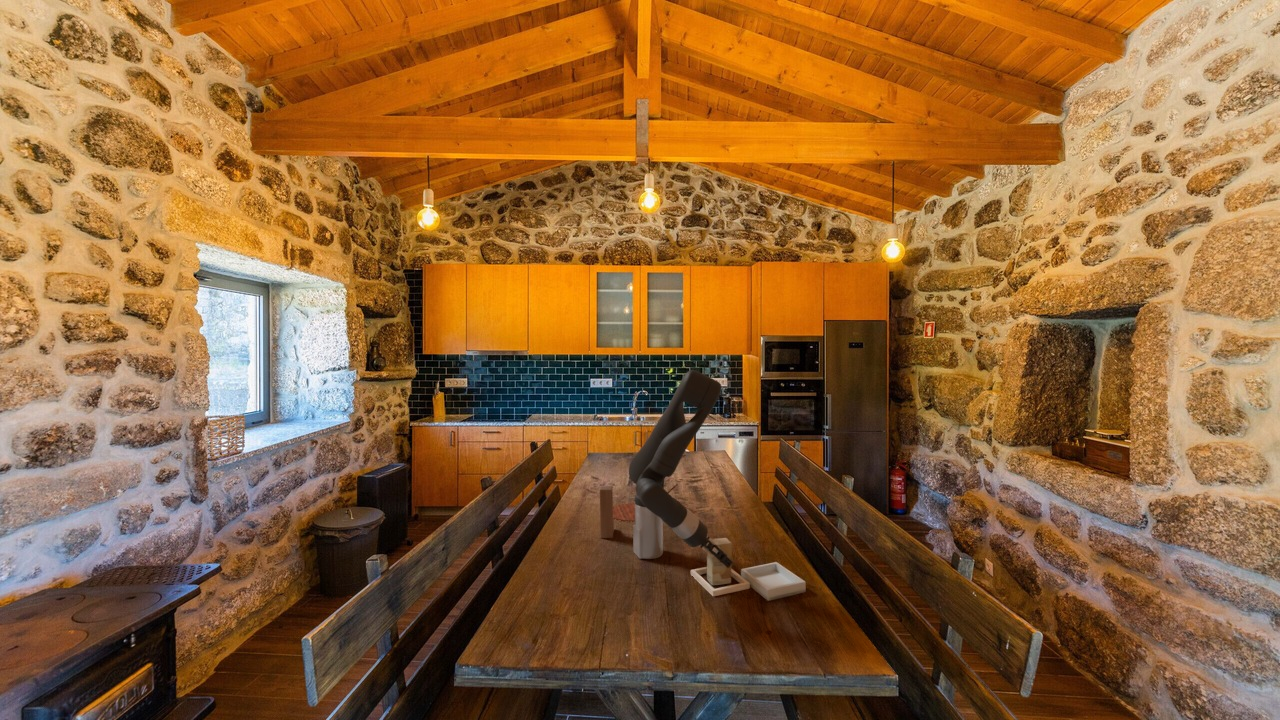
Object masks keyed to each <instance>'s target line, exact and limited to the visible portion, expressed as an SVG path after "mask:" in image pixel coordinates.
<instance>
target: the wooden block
mask: <svg viewBox="0 0 1280 720" xmlns="http://www.w3.org/2000/svg"><path fill="white" fill-rule="evenodd" d="M613 491H614V489H613V486H611V485H610V486H609V485H607V486H606V485H605V486H600V488H599V519H600V520H599V521H600V522H599V525H600V531H599V532H600V535H599V536H600V539H613V538H614V533H615V532H614V531H615V523H614V520H615V519H614V518H613V507H614V505H613V504H614V500H613V499H614V497H613V496H614V494H613V493H614V492H613Z"/></svg>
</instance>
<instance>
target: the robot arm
mask: <svg viewBox="0 0 1280 720" xmlns="http://www.w3.org/2000/svg"><path fill="white" fill-rule="evenodd" d="M721 391H722V384H721V383H720V381H717V380H716V379H713V378H711V377H709V376H708V375H706V374H704V373H701V372H700V371H697V370H695V369H690V370H688V371H687V372H686V373H685V374H684V375H683V377H682V378H681V381H680V382H679V384H678V386H677V388H676V390H675V392H674V394H673V396H672V398H671V399H670V402H669V404H668V405H667V407H666V409H665V410H664V412H663V414H662V415H661V417H660V418H659V419H658V421H657V422H656V424H655V426H654V427H653V429H652V431H651V433H650V434H649V436H648V438H647V440H646V441H645V442H644V443H643V445H642V446H641V448H639V450H638V452H636V454H635V455H634V456H633V458H632V459H631V460H630V463H629V467H628V476H629V479H630V481H631V482H632V483H633V484H635V495H634V503H635V522H634V524H633V526H632V531H633V533H632V535H633V536H632V537H633V538H632V539H633V542H632V543H633V544H632V545H633V553H634V554H635V555H636V556H637V558H639V559H640V560H641V559H645V560H651V559H659V558H660V557H661V556H662V555H663V554H664V544H663V543H664V536H663V535H664V534H663V533H664V532H663V531H664V529H663V525H664V524H663V523H665V524H666V525H667V526H668V527H669V528H670V529H671V530H672V531H673V532H674V533H675V534H676V535H677V536H678V537H679V538H680V539H681V540H682V541H683V542H684V543H685V544H687V545H688V546H689V547H690V548H696V547H699V548H700V549H702V550H703V551H704V552H706V553H709V554H710V555H711V556H712V557H716V558H717V559H718V561H720V562H722V563H723V564H724V565H725V566H726V567H727V568H729V567H730V566H731V567H732V564H733V560H732V559H731V560H730V559H729V558H728V557H727V554H725V553H724V552H723V551H722V550H721V549H720V547H719V546H718V545H717V544H716V543H714V542H713V540H712V539H713V538H711V537H710V536H708V532H709V531H708V527H707V525H706V524H705V523H704V522H703V521H702V520H701V519H700V518H699V517H697V516H696V515H695V514H694V513H693V512H692V511H691V510H689V509H688V508H686V507H685V506H684V505H683V504H682V503H681V502H680V501H679V500H678V499H676V498H675V497H673V496H672V495H670V493H667V492H668V491H667V490H665V489H666V488H665V479H666V478H668V477H672V476H673V475H674V473H675V472H676V469H677V468H678V467H679V466H678V465H679V464H680V461H681V460H682V457H684V453H685V452H686V450H687V449H688V447H689V446H690V444H691V442H692V440H693V439H694V438H695V436H696V435H697V434H698V432H699V430H700V429H701V427H702V425H704V423H705V421H706V419H707V418H708V416H709V415H710V413H711V412H712V410H713V409H714V407H715V405H716V403H717V401H718V400H719V398H720V395H721ZM684 403H686V404H687V405H690V406H692V407H694V408H696V409H697V411H696V413H695V414H694V415H693V417H691V419H690V420H688V421H687V420H686V417H685V413H684ZM713 544H714V545H713ZM709 551H710V552H711V553H710V552H709Z"/></svg>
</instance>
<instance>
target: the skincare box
mask: <svg viewBox="0 0 1280 720" xmlns="http://www.w3.org/2000/svg"><path fill="white" fill-rule="evenodd" d="M711 539H712V540H713V542H714V543H716V544H717V545H718V546H719V547H720V549H721V550H722V551H723V552H724V553H725V554H727V557H728V558H729V559H730V560H731V561H732V550H733V549H732V542H731V541H730V540H729V539H728V538H727V537H722V538H721V537H720V538H711ZM713 545H714V544H713ZM709 552H710V551H709ZM706 553H707V552H706ZM710 553H711V552H710ZM706 567H707V573H706V581H707V582H708V583H709V584H710V585H711V586H720V585H727V584H731V583H732V576H731V568H732V565H731V566H730V567H729V568H727V567H726V566H725V565H724V564H723V563H722V562H720V561H718V559H717V558H716V557H712V556H711V555H710V554H709V553H707V555H706Z"/></svg>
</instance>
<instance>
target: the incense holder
mask: <svg viewBox="0 0 1280 720" xmlns="http://www.w3.org/2000/svg"><path fill="white" fill-rule="evenodd" d="M677 486H678V483H676V484H675V485H674V486H672V488H670V489H669V490H668V491H666V492H667V493H668V494H670V492H671V491H673V490H674V489H675V488H676V487H677ZM613 518H614V520H615V519H616V520H615V521H618V520H621V521H620V522H625V521H629V522H628V523H633V521H635V502H633V503H621V504H617V505H613ZM630 521H632V522H630Z"/></svg>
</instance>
